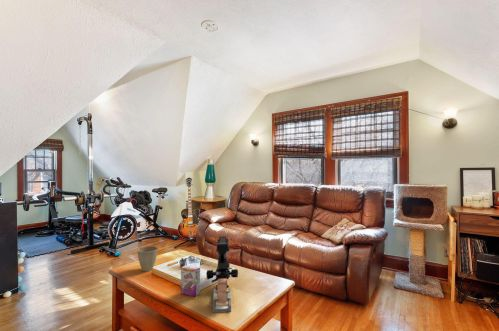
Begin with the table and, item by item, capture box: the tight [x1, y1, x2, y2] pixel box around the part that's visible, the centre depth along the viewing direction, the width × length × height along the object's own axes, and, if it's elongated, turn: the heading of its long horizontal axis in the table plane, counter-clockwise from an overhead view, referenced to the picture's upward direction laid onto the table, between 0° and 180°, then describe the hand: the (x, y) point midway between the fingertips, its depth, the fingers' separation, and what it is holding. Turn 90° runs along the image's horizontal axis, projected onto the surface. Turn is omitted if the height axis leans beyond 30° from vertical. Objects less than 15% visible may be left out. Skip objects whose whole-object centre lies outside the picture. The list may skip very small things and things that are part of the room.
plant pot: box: [137, 245, 159, 272], centre depth 197 cm, size 15×15×16 cm
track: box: [212, 288, 232, 313], centre depth 149 cm, size 20×10×4 cm, turn 5°
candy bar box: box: [180, 264, 201, 297], centre depth 159 cm, size 11×5×16 cm, turn 71°
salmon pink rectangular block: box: [216, 279, 228, 306], centre depth 146 cm, size 7×7×12 cm
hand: (222, 288), depth 149 cm, fingers closed, pressing on salmon pink rectangular block
